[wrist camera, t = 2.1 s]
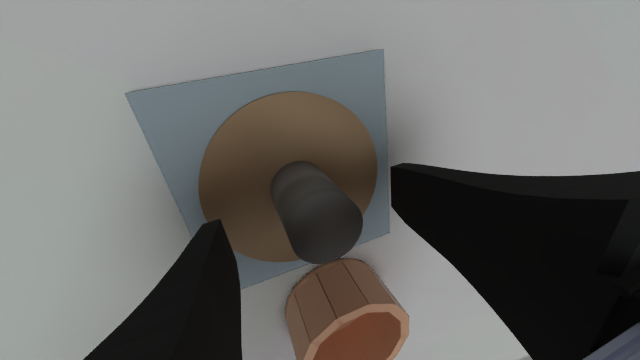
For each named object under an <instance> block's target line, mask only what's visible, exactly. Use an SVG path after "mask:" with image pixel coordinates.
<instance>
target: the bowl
mask: <svg viewBox="0 0 640 360" xmlns="http://www.w3.org/2000/svg"><path fill="white" fill-rule="evenodd" d="M285 310H286V315H285V317H286V320H287V324H288V328H289V332H290V336H291V340H292V343H293V347H294V351H295V355H296V359H297V360H393V359H394V358H395V357H396V356H397V354H398V353H399V351H400V349H401V347H402V346H403V344H404V342H405V341H406V339H407V337H408V335H409V315H408V314H407V312H406V311H405V310H404V309H403V307H402V306H401V305H400V303H399V302H398V301H397V299H396V298H395V297H394V296H393V294H392V293H391V292H390V290H389V289H388V288H387V286H386V285H385V284H384V283H383V281H382V280H381V279H380V277H379V276H378V275H377V274H376V273H375V272H374V271H373V270H372V269H371V268H370V266H369V265H367V264H366V263H364V262H362V261H360V260H357V259H349V258H345V259H337V260H334V261H332V262H329V263H324V264H322V265H320V266H318V267H316V268H315V269H313V270H312V271H310V272H309V273H308V274H306V275H305V276H304V277H303V278H302V279H301V280H300V281H299V282H298V283H297V284H296V286H295V287H294V288H293V290H292V291H291V293H290V295H289V297H288V300H287V303H286V309H285Z"/></svg>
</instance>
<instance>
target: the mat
mask: <svg viewBox="0 0 640 360" xmlns="http://www.w3.org/2000/svg"><path fill="white" fill-rule="evenodd" d="M287 91H299V92H307V93H314V94H318V95H321V96H324V97H328V98H330V99H332V100H335V101H337V102H339V103H341V104H342V105H344V106H345V107H346V108H348V109H349V110H351V111H352V112H353V113H354V114H355V115H356V116H357V117H358V118H359V119H360V121H361V122H362V123H363V124H364V126H365V127H366V129H367V131H368V132H369V134H370V136H371V139H372V141H373V144H374V147H375V151H376V157H377V180H376V185H375V190H374V193H373V196H372V199H371V201H370V204H369V206H368V208H367V210H366V212H365V213H364V215H363V216H362V217H363V228H362V232H361V235H360V237H359V239H358V241H357V242H356V244H355V245H354V246H356V245H359V244H362V243H364V242H367V241H369V240H372V239H375V238H377V237H380V236H383V235H385V234H388V233H390V227H389V197H388V166H387V136H386V106H385V75H384V49H381V50H374V51H369V52H363V53H357V54H351V55H345V56H339V57H333V58H327V59H322V60H316V61H310V62H304V63H298V64H292V65H286V66H280V67H275V68H269V69H263V70H257V71H251V72H245V73H239V74H234V75H228V76H222V77H216V78H210V79H204V80H198V81H192V82H187V83H181V84H175V85H169V86H163V87H157V88H151V89H145V90H140V91H134V92H128V93H125V95H126V97H127V100H128V102H129V104H130V106H131V108H132V110H133V112H134V114H135V117H136V119H137V121H138V123H139V125H140V127H141V129H142V131H143V133H144V136H145V138H146V140H147V142H148V144H149V146H150V148H151V150H152V153H153V155H154V157H155V159H156V161H157V163H158V165H159V167H160V170H161V172H162V174H163V176H164V178H165V180H166V182H167V184H168V187H169V189H170V191H171V193H172V195H173V197H174V199H175V201H176V204H177V206H178V208H179V210H180V212H181V214H182V216H183V218H184V221H185V223H186V225H187V227H188V229H189V231H190V233H191V235H192V237H194V235H195V234H196V232H197V231H198V230H199V228H200V227H201V226H202V224H204V223H208V222H207V220H206V219H205V217H204V214H203V211H202V208H201V205H200V199H199V183H198V181H199V174H200V167H201V163H202V160H203V156H204V153H205V150H206V148H207V146H208V144H209V142H210V140H211V138H212V137H213V135H214V134H215V132H216V131H217V129H218V128H219V127H220V126H221V125H222V124H223V123H224V121H225V120H226V119H227V118H228V117H229V116H231V115H232V114H233V113H234V112H236V111H237V110H238V109H240V108H241V107H243V106H244V105H246V104H248V103H249V102H251V101H254V100H256V99H258V98H261V97H263V96H267V95H270V94H274V93H280V92H287ZM354 246H353V247H354ZM232 250H233V249H232ZM233 253H234V255H235V258H236V260H237V266H238V272H239V279H240V290H241V289H243V288H246V287H249V286H251V285H254V284H257V283H259V282H262V281H264V280H267V279H270V278H272V277H275V276H278V275H280V274H283V273H285V272H288V271H291V270H293V269H296V268H299V267H301V266H304V265H306V264H309V263H308V262H306V261H303V260H302V259H301V260H296V261H290V262H267V261H260V260H256V259H252V258H250V257H247V256H244V255H242V254H240V253H238V252H236V251H234V250H233Z"/></svg>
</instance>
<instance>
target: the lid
mask: <svg viewBox="0 0 640 360" xmlns="http://www.w3.org/2000/svg"><path fill="white" fill-rule="evenodd" d="M376 180H377V157H376V151H375V147H374V144H373V141H372V139H371V136H370V134H369V132H368V131H367V129H366V127H365V126H364V124H363V123H362V122H361V121H360V119H359V118H358V117H357V116H356V115H355V114H354V113H353V112H352V111H351V110H349V109H348V108H346V107H345V106H344V105H342V104H341V103H339V102H337V101H335V100H332V99H330V98H328V97H324V96H321V95H318V94H314V93H307V92H299V91H287V92H280V93H274V94H270V95H267V96H263V97H261V98H258V99H256V100H254V101H251V102H249V103H248V104H246V105H244V106H243V107H241V108H240V109H238V110H237V111H236V112H234V113H233V114H232V115H231V116H229V117H228V118H227V119H226V120H225V121H224V123H223V124H222V125H221V126H220V127H219V128H218V129H217V131H216V132H215V134H214V135H213V137H212V138H211V140H210V142H209V144H208V146H207V148H206V150H205V153H204V156H203V160H202V163H201V167H200V174H199V181H198V183H199V199H200V205H201V208H202V211H203V214H204V217H205V219H206V220H207V222H211V221H214V220H217V219H220V220H221V222H222V225H223V227H224V230H225V232H226V235H227V237H228V240H229V242H230V245H231V248H232V249H233V250H234V251H236V252H238V253H240V254H242V255H244V256H247V257H250V258H252V259H256V260H260V261H267V262H290V261H296V260H301V259H302V260H303V261H306V262H308V263H312V264H324V263H329V262H332V261H334V260H337V259H339V258H340V257H342V256H343V255H345V254H346V253H347V252H349V251H350V250H351V249H352V248H353V246H354V245H355V244H356V242H357V241H358V239H359V237H360V235H361V232H362V228H363V217H362V216H363V215H364V213H365V212H366V210H367V208H368V206H369V204H370V201H371V199H372V196H373V193H374V190H375V185H376Z"/></svg>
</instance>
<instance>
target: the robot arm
mask: <svg viewBox="0 0 640 360" xmlns="http://www.w3.org/2000/svg"><path fill="white" fill-rule="evenodd" d="M391 207H392V208H393V209H394V210H395V212H396V213H397V214H398V215H399V216H400V217H401V219H402V220H403V221H404V222H405V223H406V224H407V225H408V226H409V227H410V228H411V229H413V230H414V231H415V232H416V233H417V234H418V235H419V236H421V237H422V238H423V239H424V240H425V241H426V242H427V243H429V244H430V245H431V246H432V247H433V248H434V249H436V250H437V251H438V252H439V253H440V254H441V255H442V256H444V257H445V258H446V259H447V260H448V261H449V262H450V263H451V264H452V265H453V266H454V267H455V268H456V269H457V270H458V271H459V272H460V273H461V274H462V275H463V276H464V277H465V278H466V280H467V281H468V282H469V283H470V284H471V285H472V286H473V287H474V288H475V289H476V290H477V292H478V293H479V294H480V295H481V296H482V297H483V298H484V300H485V301H486V302H487V303H488V304H489V305H490V306H491V308H492V309H493V310H494V311H495V312H496V314H497V315H498V316H499V317H500V318H501V320H502V321H503V322H504V323H505V325H506V326H507V327H508V328H509V329H510V331H511V332H512V333H513V334H514V336H515V337H516V338H517V339H518V341H519V342H520V343H521V345H522V346H523V347H524V349H525V350H526V351H527V353H528V354H529V355H530V356H531V358H532V359H533V360H640V171H636V172H626V173H616V174H601V175H583V176H514V175H497V174H486V173H477V172H469V171H461V170H454V169H447V168H441V167H434V166H427V165H420V164H411V163H401V164H398V165H395V166H392V167H391ZM83 360H242V347H241V293H240V279H239V272H238V266H237V260H236V258H235V255H234V253H233V250H232V248H231V245H230V242H229V240H228V237H227V235H226V232H225V230H224V227H223V225H222V222H221V220H220V219H217V220H214V221H211V222H208V223H204V224H202V226H201V227H200V228H199V230H198V231H197V232H196V234H195V235H194V237H193V238H192V240H191V241H190V243H189V244H188V245H187V247H186V248H185V250H184V251H183V252H182V254H181V255H180V256H179V258H178V259H177V261H176V262H175V263H174V264H173V266H172V267H171V268H170V269H169V271H168V272H167V273H166V274H165V276H164V277H163V278H162V279H161V281H160V282H159V283H158V284H157V286H156V287H155V288H154V289H153V290H152V291H151V293H150V294H149V295H148V296H147V297H146V298H145V299H144V300H143V302H142V303H141V304H140V305H139V306H138V307H137V308H136V309H135V310H134V311H133V312H132V313H131V314H130V315H129V316H128V317H127V318H126V319H125V320H124V321H123V322H122V323H121V324H120V325H119V326H118V327H117V328H116V329H115V330H114V331H113V332H112V333H111V334H110V335H109V336H108V337H107V338H106V339H105V340H103V341H102V342H101V343H100V344H99V345H98V346H97V347H96V348H95V349H94V350H93V351H92V352H91V353H90V354H89V355H88V356H86V357H85V358H84V359H83Z"/></svg>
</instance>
